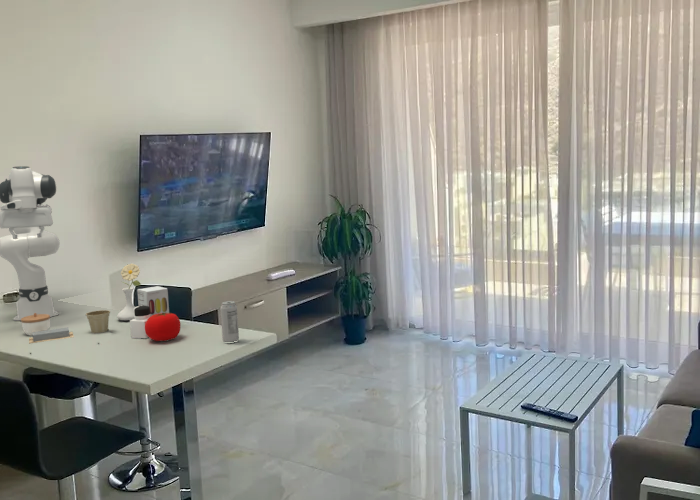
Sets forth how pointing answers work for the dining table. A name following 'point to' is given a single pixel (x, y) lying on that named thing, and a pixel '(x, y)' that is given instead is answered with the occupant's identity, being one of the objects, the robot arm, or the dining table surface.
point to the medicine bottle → (139, 322)
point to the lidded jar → (35, 323)
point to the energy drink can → (229, 321)
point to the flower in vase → (129, 291)
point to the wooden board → (50, 339)
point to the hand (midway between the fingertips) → (27, 238)
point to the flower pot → (98, 320)
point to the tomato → (162, 326)
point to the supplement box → (154, 299)
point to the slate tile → (50, 334)
